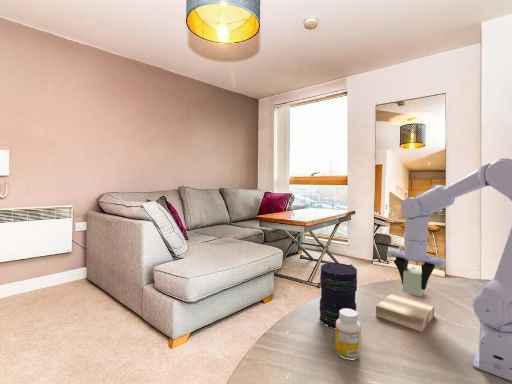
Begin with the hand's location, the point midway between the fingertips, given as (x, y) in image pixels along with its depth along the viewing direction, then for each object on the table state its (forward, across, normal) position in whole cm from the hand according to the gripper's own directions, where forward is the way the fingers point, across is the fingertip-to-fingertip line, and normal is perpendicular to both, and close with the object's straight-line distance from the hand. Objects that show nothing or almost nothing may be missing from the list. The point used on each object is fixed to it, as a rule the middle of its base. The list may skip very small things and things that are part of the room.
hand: (413, 286), depth 82 cm
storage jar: (+9, +14, +18) cm, 25 cm away
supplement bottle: (+9, +5, +30) cm, 32 cm away
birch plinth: (+9, +2, +2) cm, 9 cm away
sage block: (+2, 0, 0) cm, 2 cm away
